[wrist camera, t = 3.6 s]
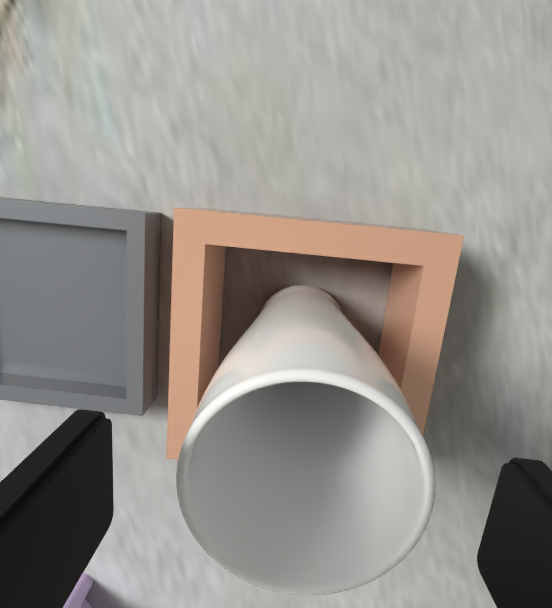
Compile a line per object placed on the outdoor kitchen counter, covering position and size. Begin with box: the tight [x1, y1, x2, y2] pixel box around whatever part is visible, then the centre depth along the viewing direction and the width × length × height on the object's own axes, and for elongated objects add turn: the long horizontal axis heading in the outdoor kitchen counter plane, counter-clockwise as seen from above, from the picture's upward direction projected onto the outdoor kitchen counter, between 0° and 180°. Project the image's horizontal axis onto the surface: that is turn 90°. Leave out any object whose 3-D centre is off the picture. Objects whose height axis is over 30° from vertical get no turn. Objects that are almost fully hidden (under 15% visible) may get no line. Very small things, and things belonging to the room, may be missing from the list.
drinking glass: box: [176, 285, 435, 595], centre depth 17 cm, size 7×7×15 cm
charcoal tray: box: [0, 197, 161, 416], centre depth 24 cm, size 12×12×2 cm
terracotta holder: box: [167, 208, 464, 460], centre depth 22 cm, size 13×13×6 cm
